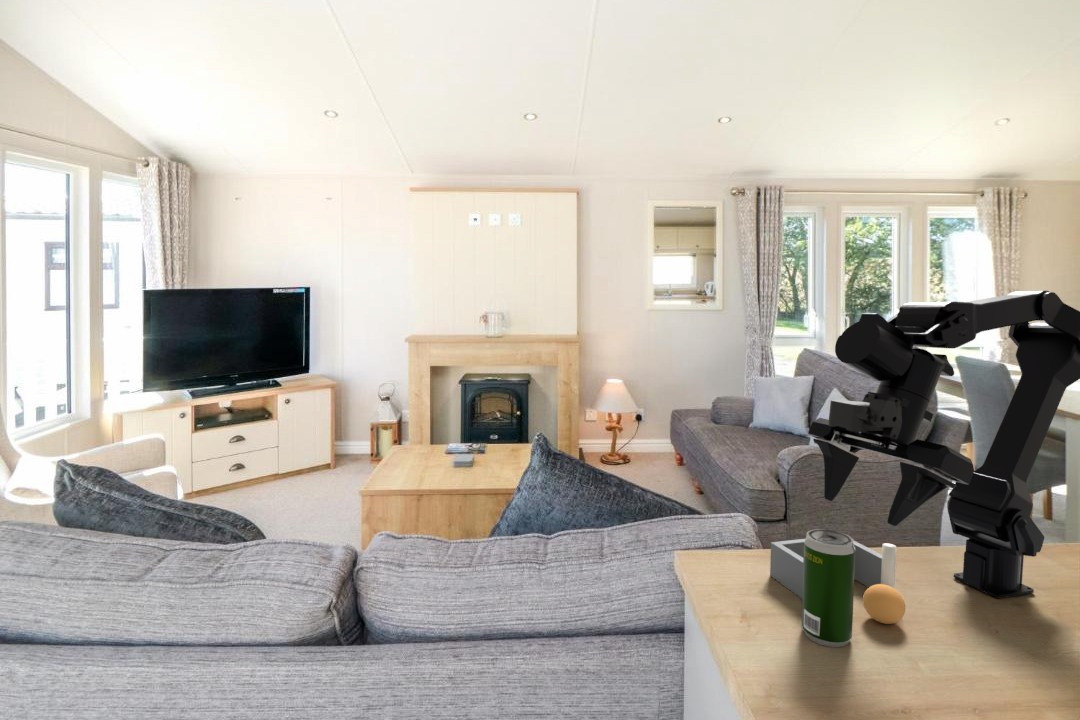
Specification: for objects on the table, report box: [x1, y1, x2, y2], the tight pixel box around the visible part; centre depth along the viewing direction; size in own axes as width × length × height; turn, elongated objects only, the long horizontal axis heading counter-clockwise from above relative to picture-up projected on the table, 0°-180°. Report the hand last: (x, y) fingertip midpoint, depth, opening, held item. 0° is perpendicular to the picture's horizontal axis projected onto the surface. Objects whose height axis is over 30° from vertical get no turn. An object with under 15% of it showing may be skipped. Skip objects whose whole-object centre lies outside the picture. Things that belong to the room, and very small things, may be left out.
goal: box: [769, 538, 897, 599], centre depth 79 cm, size 13×10×7 cm
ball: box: [862, 584, 906, 625], centre depth 70 cm, size 4×4×4 cm
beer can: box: [800, 528, 855, 648], centre depth 67 cm, size 5×5×12 cm
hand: (857, 511), depth 70 cm, fingers open, 9 cm apart
